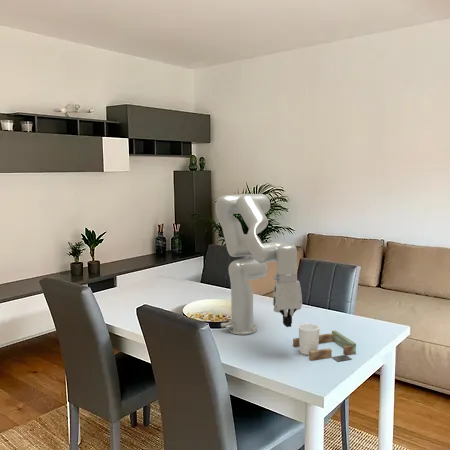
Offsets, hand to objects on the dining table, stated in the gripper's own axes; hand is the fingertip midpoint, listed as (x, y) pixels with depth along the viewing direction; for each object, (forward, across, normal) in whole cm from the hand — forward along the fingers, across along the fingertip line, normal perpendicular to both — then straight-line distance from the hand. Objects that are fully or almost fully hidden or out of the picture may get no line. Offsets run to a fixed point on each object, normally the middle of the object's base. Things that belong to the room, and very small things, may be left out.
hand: (287, 325), depth 173 cm
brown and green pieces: (+12, +15, +1) cm, 19 cm away
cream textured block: (+12, +9, +1) cm, 15 cm away
